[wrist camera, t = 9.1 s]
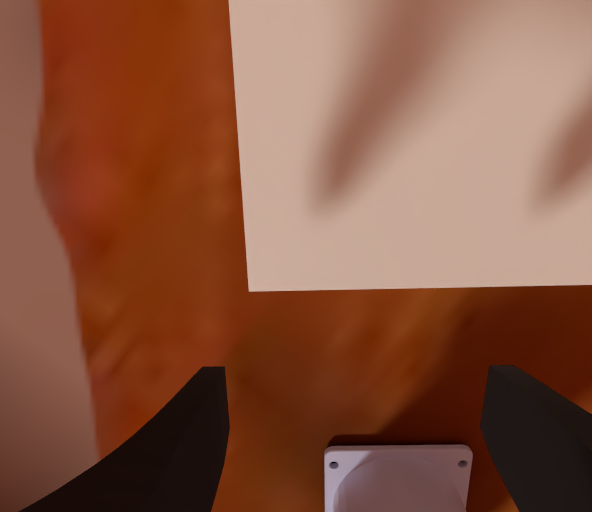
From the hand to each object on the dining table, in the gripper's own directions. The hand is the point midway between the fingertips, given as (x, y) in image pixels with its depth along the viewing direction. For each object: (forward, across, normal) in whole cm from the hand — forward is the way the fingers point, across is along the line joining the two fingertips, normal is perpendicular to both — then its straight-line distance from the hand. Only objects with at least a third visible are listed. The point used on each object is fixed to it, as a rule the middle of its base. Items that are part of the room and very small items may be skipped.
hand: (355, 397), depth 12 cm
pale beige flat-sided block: (+9, -7, -6) cm, 13 cm away
